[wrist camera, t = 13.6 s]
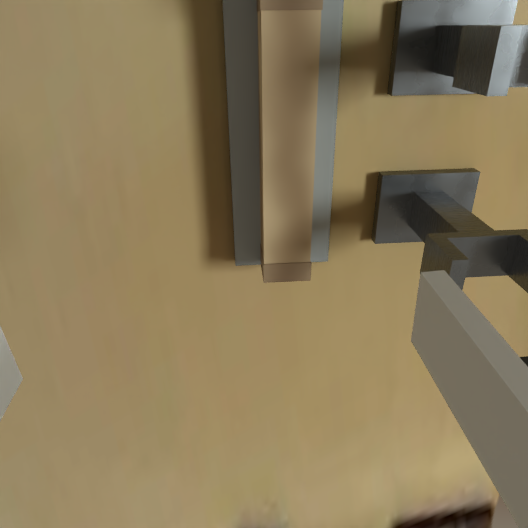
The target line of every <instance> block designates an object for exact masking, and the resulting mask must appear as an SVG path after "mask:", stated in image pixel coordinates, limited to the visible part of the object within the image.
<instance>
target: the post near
mask: <svg viewBox="0 0 528 528" xmlns="http://www.w3.org/2000/svg"><path fill="white" fill-rule="evenodd" d="M517 1H518V0H403V1H398V2H397V11H396V21H395V30H394V39H393V48H392V57H391V66H390V75H389V84H388V93H387V94H389V95H432V94H472V93H477V94H481V95H484V96H507V92H508V87H528V25H512V24H513V19H514V15H515V10H516V6H517Z"/></svg>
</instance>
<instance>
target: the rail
mask: <svg viewBox="0 0 528 528" xmlns="http://www.w3.org/2000/svg"><path fill="white" fill-rule="evenodd" d="M256 1H257V17H258V86H259V154H260V222H261V244H260V261H261V268H262V275H263V281H264V283H267V282H288V281H310V279H311V261H310V259H311V236H312V214H313V191H314V168H315V145H316V123H317V100H318V77H319V54H320V31H321V10H323V0H256Z"/></svg>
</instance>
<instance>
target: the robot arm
mask: <svg viewBox="0 0 528 528" xmlns="http://www.w3.org/2000/svg"><path fill="white" fill-rule="evenodd" d="M411 342H412V343H413V345H414V347H415V349H416V350H417V352H418V354H419V355H420V357H421V359H422V361H423V362H424V364H425V366H426V368H427V369H428V371H429V373H430V375H431V376H432V378H433V380H434V381H435V383H436V385H437V387H438V388H439V390H440V392H441V394H442V395H443V397H444V399H445V401H446V402H447V404H448V406H449V407H450V409H451V411H452V413H453V414H454V416H455V418H456V420H457V421H458V423H459V425H460V427H461V428H462V430H463V432H464V434H465V435H466V437H467V439H468V440H469V442H470V444H471V446H472V447H473V449H474V451H475V453H476V454H477V456H478V458H479V460H480V461H481V463H482V465H483V466H484V468H485V470H486V472H487V473H488V475H489V477H490V479H491V480H492V482H493V484H494V486H495V487H496V489H497V491H498V492H499V494H500V496H501V498H502V499H503V501H504V503H505V505H506V506H507V508H508V510H509V512H510V513H511V515H512V517H513V518H514V520H515V522H516V524H517V525H518V527H519V528H528V356H527V357H519V356H518V355H517V354H516V353H515V351H514V350H513V349H512V348H511V347H510V346H509V344H508V343H507V342H506V341H505V340H504V339H503V337H502V336H501V335H500V334H499V333H498V332H497V330H496V329H495V328H494V327H493V326H492V325H491V324H490V322H489V321H488V320H487V319H486V318H485V317H484V315H483V314H482V313H481V312H480V311H479V310H478V308H477V307H476V306H475V305H474V304H473V303H472V301H471V300H470V299H469V298H468V297H467V296H466V295H465V293H464V292H463V291H462V290H461V289H460V288H459V286H458V285H457V284H456V283H455V282H454V281H453V279H452V278H451V277H450V276H449V275H448V274H447V273H446V271H445V270H440V271H429V272H421V273H420V280H419V288H418V295H417V302H416V309H415V316H414V324H413V331H412V338H411ZM22 379H23V378H22V375H21V373H20V371H19V368H18V366H17V364H16V361H15V359H14V357H13V355H12V352H11V350H10V348H9V345H8V343H7V341H6V338H5V336H4V334H3V331H2V329H1V327H0V420H1V418H2V417H3V415H4V413H5V411H6V409H7V407H8V405H9V404H10V402H11V400H12V398H13V396H14V394H15V392H16V391H17V389H18V387H19V385H20V383H21V381H22Z"/></svg>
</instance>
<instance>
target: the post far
mask: <svg viewBox="0 0 528 528" xmlns="http://www.w3.org/2000/svg"><path fill="white" fill-rule="evenodd" d="M479 175H480V172H479V171H478V170H476V169H474V168H473V169H445V170H417V171H388V172H379V176H378V185H377V194H376V203H375V212H374V221H373V230H372V240H373V242H374V243H375V244H378V243H401V242H424V243H425V246H424V252H423V258H422V264H421V270H420V273H421V272H429V271H440V270H445V271H446V273H447V274H448V275H449V276H450V277H451V278H452V279H453V281H454V282H455V283H456V284H457V285H458V286H459V288H460V289H461V290H462V289H463V285H464V280H465V277H482V276H502V275H508V276H509V277H510V278H512V279H513V280H514V281H515V282H516V283H517V284H518V285H519V286H521V287H522V288H523V289H524V290H525V291H526V292H527V293H528V230H527V229H520V230H497V231H494V230H493V229H492V228H491V227H489V226H488V225H487V224H485V223H484V222H483V221H481V220H480V219H479V218H478V217H476V216H475V215H474V214H472V213H471V212H472V207H473V203H474V198H475V193H476V189H477V184H478V180H479Z"/></svg>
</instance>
